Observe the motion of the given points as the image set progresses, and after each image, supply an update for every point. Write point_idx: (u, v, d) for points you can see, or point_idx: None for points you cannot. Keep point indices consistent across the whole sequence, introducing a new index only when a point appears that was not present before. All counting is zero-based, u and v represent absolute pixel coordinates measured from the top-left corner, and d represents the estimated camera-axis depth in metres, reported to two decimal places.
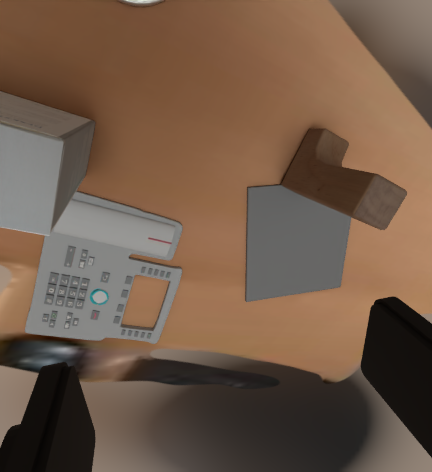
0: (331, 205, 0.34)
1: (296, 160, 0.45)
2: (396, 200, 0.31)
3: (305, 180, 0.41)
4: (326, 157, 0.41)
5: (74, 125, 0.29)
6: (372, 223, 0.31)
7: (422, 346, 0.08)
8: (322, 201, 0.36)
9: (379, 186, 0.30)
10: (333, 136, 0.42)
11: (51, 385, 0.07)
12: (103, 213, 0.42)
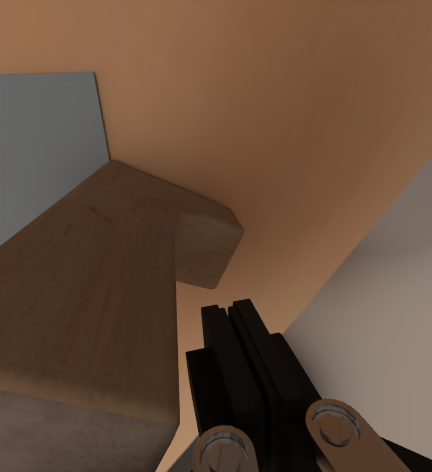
0: (10, 240, 0.08)
1: (168, 186, 0.20)
2: None
3: (122, 190, 0.15)
4: (186, 240, 0.17)
5: None
6: None
7: (246, 347, 0.08)
8: (41, 215, 0.09)
9: (108, 461, 0.05)
10: (228, 252, 0.19)
11: (218, 318, 0.09)
12: None
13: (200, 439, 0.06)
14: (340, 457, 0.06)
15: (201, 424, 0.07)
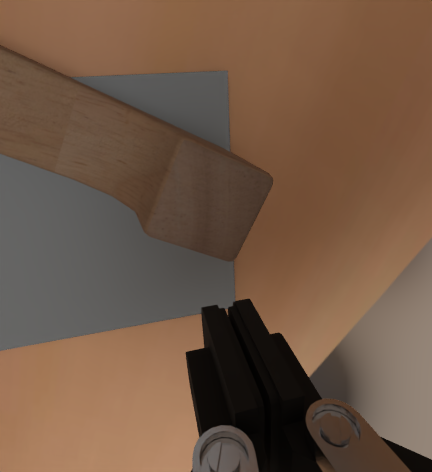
0: None
1: (222, 149, 0.17)
2: None
3: None
4: (140, 148, 0.15)
5: None
6: None
7: (246, 347, 0.08)
8: None
9: None
10: (164, 171, 0.13)
11: (218, 318, 0.09)
12: None
13: (200, 439, 0.06)
14: (340, 457, 0.06)
15: (201, 424, 0.07)
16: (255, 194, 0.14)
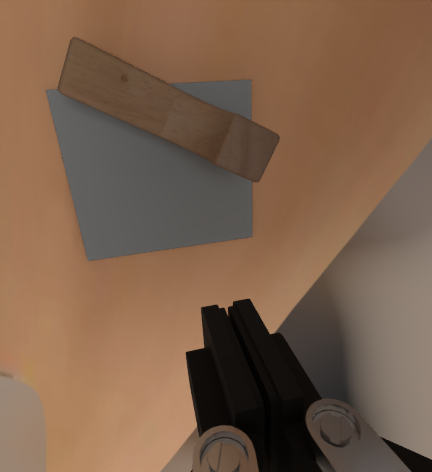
0: None
1: None
2: None
3: None
4: (208, 122, 0.28)
5: None
6: None
7: (246, 347, 0.08)
8: None
9: None
10: (226, 131, 0.26)
11: (218, 318, 0.09)
12: None
13: (200, 439, 0.06)
14: (340, 457, 0.06)
15: (201, 424, 0.07)
16: (270, 144, 0.27)
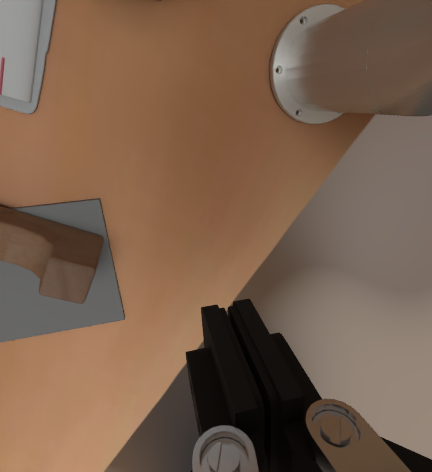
0: None
1: (89, 245, 0.36)
2: None
3: (47, 224, 0.36)
4: (41, 253, 0.33)
5: None
6: None
7: (246, 347, 0.08)
8: None
9: None
10: (44, 269, 0.31)
11: (218, 318, 0.09)
12: None
13: (200, 439, 0.06)
14: (340, 457, 0.06)
15: (201, 424, 0.07)
16: (86, 276, 0.32)
